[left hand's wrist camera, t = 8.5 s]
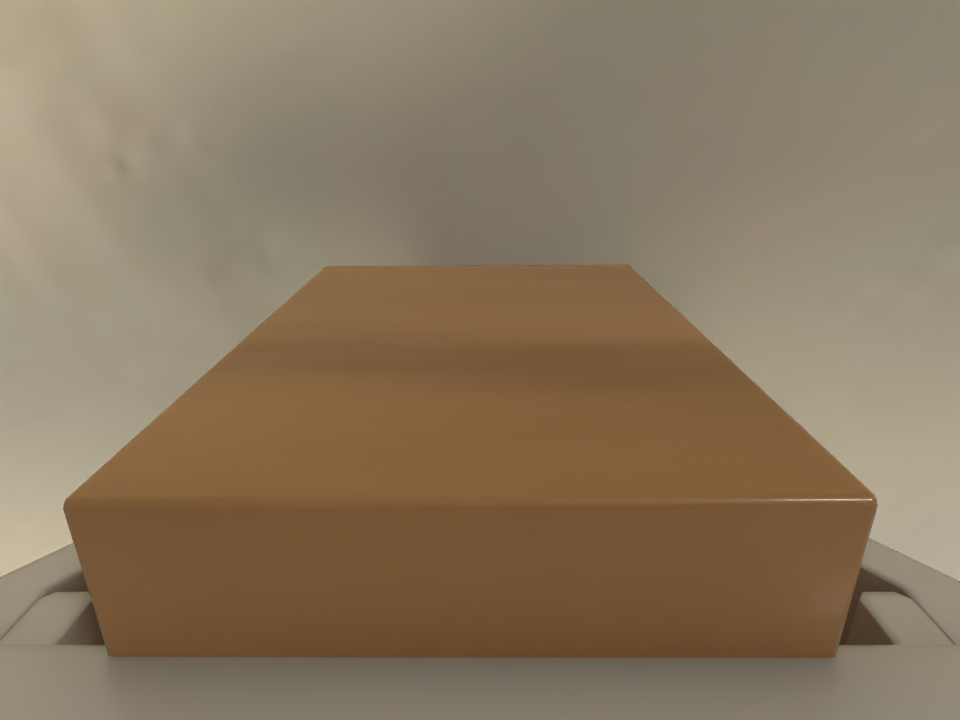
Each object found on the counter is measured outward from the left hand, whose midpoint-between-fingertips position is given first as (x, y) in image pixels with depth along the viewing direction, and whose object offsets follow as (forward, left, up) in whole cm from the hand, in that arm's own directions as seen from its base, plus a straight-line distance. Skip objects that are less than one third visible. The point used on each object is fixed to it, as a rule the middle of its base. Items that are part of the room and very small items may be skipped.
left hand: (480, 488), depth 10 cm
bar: (+8, 0, -3) cm, 9 cm away
